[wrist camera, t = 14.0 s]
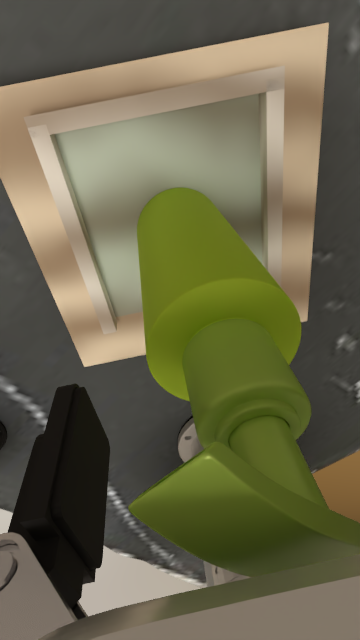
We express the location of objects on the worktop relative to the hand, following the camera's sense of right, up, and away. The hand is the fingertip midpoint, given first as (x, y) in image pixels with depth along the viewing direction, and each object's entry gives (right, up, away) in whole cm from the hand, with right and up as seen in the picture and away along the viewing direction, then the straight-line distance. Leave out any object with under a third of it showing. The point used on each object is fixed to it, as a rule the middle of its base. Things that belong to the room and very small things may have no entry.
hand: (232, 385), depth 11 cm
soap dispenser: (-2, +9, +12) cm, 15 cm away
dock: (-2, +10, +15) cm, 18 cm away
